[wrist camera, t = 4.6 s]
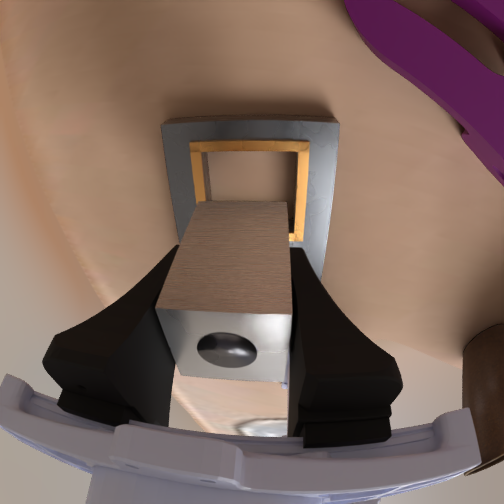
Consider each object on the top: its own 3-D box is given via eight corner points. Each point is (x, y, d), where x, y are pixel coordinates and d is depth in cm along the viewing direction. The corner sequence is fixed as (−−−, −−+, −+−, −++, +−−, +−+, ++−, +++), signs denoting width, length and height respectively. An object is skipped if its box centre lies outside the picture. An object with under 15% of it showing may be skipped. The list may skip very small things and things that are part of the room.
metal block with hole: (283, 270, 16) (284, 383, 11) (207, 268, 16) (180, 376, 11) (286, 202, 14) (292, 315, 8) (198, 201, 14) (154, 309, 9)
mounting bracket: (340, 50, 18) (518, 206, 16) (309, 13, 12) (563, 245, 9) (397, -30, 13) (572, 124, 11) (388, -88, 6) (630, 131, 4)
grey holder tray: (310, 321, 27) (311, 336, 26) (201, 318, 28) (198, 332, 27) (335, 117, 16) (340, 124, 15) (168, 119, 17) (159, 126, 16)
